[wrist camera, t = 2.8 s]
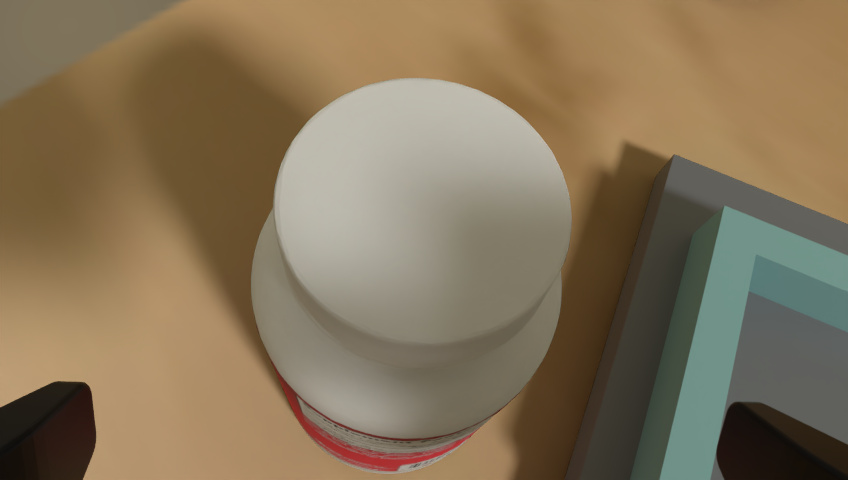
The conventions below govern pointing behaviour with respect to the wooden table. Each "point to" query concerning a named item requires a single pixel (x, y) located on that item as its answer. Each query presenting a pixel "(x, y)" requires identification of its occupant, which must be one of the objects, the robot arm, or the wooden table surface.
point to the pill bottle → (410, 269)
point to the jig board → (717, 328)
